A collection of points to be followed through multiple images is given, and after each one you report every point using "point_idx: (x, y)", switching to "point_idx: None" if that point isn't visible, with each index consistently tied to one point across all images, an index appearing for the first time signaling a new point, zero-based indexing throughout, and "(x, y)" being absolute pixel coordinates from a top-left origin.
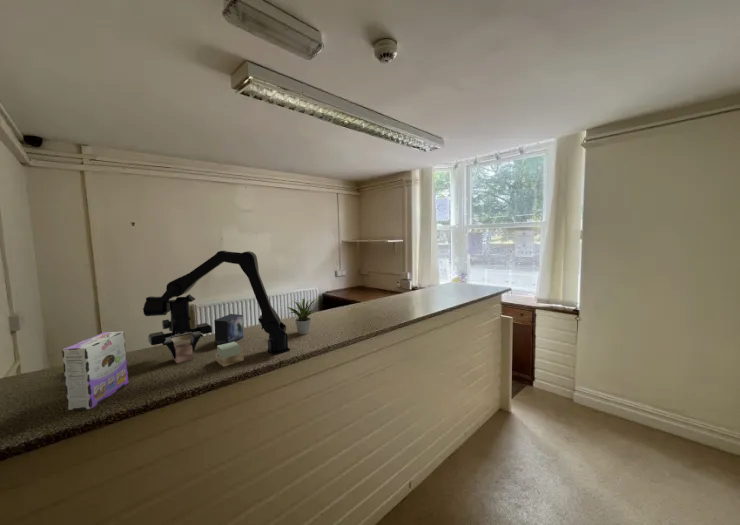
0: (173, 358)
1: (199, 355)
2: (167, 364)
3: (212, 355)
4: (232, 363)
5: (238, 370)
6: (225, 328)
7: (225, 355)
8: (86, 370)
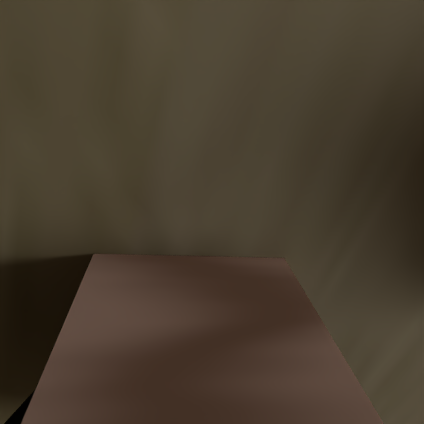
0: (90, 261)
1: (344, 339)
2: (6, 362)
3: (400, 407)
4: None
5: None
6: None
7: None
8: None
